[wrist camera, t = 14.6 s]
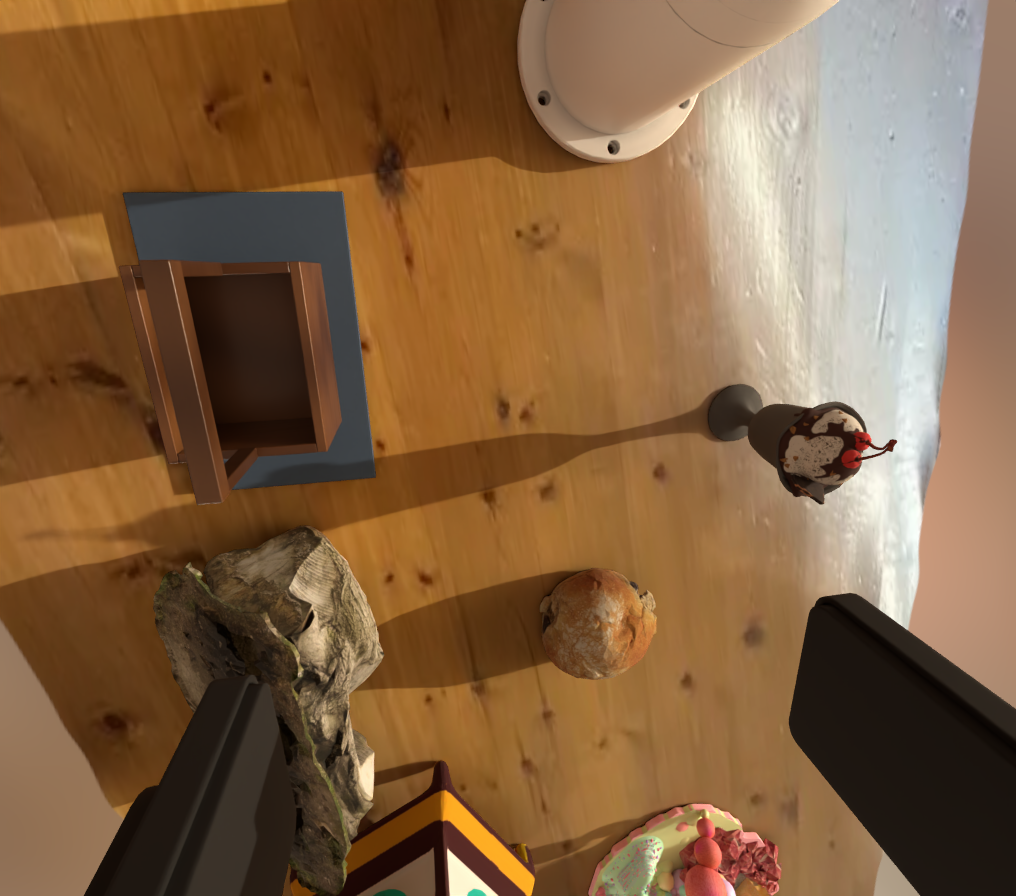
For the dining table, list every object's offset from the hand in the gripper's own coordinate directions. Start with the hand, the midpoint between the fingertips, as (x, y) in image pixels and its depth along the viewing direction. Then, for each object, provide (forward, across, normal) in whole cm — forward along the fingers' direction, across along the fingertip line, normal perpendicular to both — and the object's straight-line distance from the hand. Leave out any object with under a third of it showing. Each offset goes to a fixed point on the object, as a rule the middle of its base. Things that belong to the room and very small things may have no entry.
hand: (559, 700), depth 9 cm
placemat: (+32, +12, -2) cm, 35 cm away
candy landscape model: (+32, -24, +64) cm, 76 cm away
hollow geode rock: (+32, +14, +24) cm, 43 cm away
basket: (+32, +12, -2) cm, 34 cm away
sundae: (+32, -24, +5) cm, 41 cm away
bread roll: (+32, -12, +23) cm, 42 cm away
